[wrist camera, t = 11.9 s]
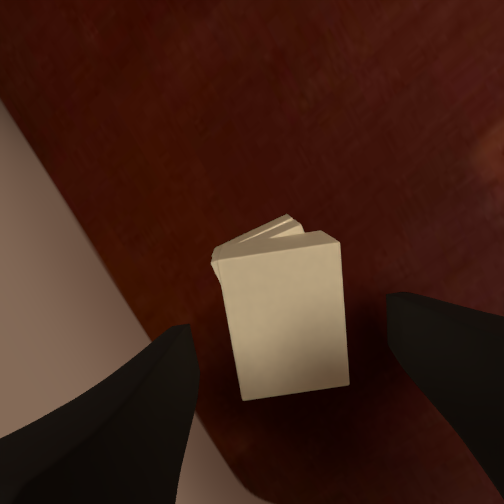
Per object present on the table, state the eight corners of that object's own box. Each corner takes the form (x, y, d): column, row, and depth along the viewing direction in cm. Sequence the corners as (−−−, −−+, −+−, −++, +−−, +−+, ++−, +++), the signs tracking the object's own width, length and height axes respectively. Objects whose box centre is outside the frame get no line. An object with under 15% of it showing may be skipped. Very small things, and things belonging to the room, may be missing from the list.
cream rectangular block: (331, 351, 14) (350, 385, 11) (242, 364, 14) (242, 401, 11) (321, 230, 12) (340, 241, 10) (221, 245, 12) (216, 260, 10)
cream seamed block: (328, 305, 17) (348, 334, 14) (259, 336, 17) (263, 371, 14) (287, 212, 15) (299, 220, 12) (213, 247, 16) (206, 264, 12)
